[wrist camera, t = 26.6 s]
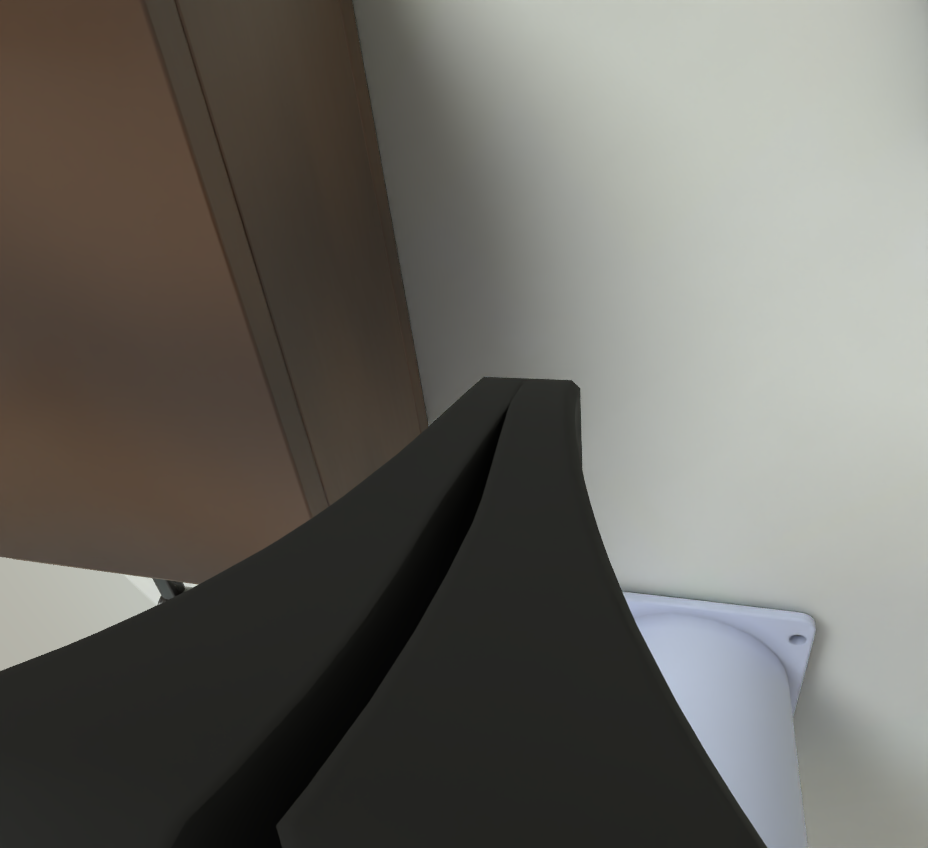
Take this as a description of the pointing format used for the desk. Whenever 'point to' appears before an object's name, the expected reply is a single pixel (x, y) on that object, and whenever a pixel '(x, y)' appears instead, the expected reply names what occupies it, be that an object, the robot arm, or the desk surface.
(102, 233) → the cabinet
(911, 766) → the desk surface
